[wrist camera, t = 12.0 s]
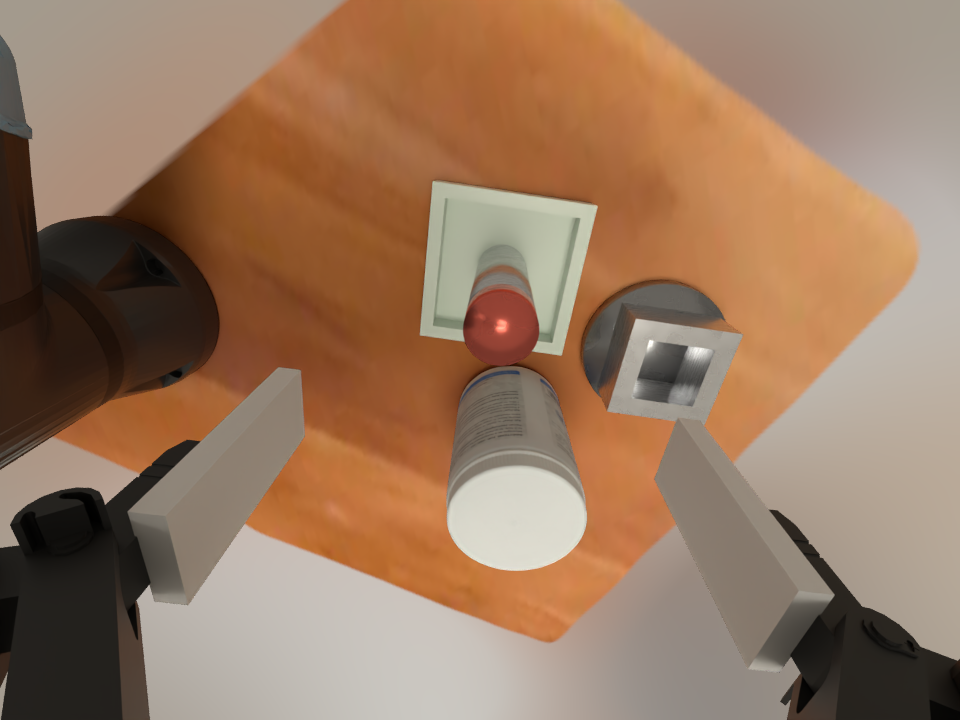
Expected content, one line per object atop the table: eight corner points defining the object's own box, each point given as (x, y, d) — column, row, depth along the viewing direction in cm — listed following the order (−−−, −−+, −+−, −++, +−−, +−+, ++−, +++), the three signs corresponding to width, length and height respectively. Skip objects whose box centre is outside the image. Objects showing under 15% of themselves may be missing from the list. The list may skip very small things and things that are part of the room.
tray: (424, 324, 38) (419, 335, 36) (437, 179, 33) (432, 181, 31) (557, 344, 38) (561, 355, 36) (591, 202, 33) (597, 205, 31)
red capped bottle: (474, 289, 36) (458, 360, 23) (480, 241, 34) (467, 288, 22) (521, 296, 36) (531, 370, 23) (530, 248, 34) (546, 300, 22)
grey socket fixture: (567, 395, 41) (577, 428, 36) (600, 270, 35) (616, 288, 30) (692, 413, 41) (719, 448, 36) (742, 291, 36) (781, 312, 31)
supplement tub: (449, 433, 43) (426, 556, 30) (473, 349, 39) (459, 448, 26) (542, 456, 44) (560, 587, 30) (575, 377, 40) (612, 486, 26)
